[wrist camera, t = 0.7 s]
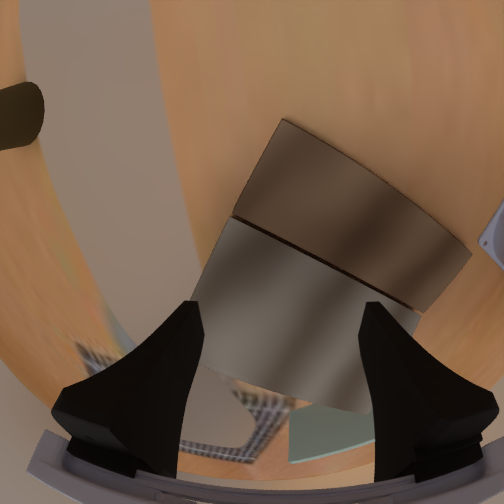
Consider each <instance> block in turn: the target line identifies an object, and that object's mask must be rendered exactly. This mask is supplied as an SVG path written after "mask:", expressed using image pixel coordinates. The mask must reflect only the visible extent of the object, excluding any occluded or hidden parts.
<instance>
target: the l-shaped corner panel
mask: <svg viewBox="0 0 504 504" xmlns="http://www.w3.org/2000/svg"><path fill="white" fill-rule="evenodd" d="M372 442H375V432H374V418H373V408H372V409H371V411H370V412H369V414H368V415H364V414H359V413H354V412H349V411H344V410H340V409H336V408H331V407H327V406H323V405H319V404H315V403H314V404H311V405H308V406H305V407H302V408H299V409H296V410H293V411H290V413H289V457H288V462H289V463H291V464H295V463H300V462H304V461H309V460H313V459H317V458H322V457H326V456H329V455H333V454H337V453H340V452H344V451H347V450H350V449H354V448H357V447H360V446H363V445H366V444H369V443H372Z"/></svg>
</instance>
